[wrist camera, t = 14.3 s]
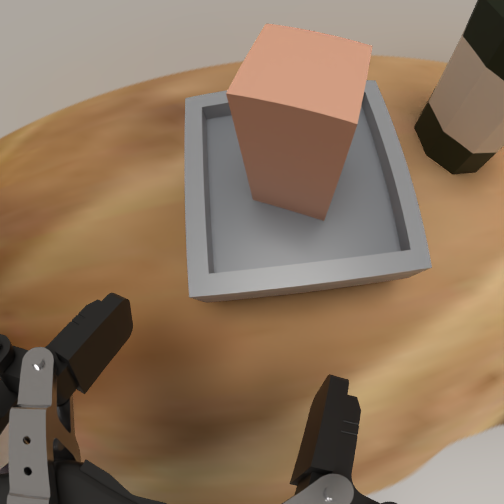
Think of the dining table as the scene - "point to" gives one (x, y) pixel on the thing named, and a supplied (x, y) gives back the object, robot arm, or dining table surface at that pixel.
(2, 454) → the cup
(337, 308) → the dining table surface
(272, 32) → the terracotta block
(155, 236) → the dining table surface
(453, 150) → the wine bottle
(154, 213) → the dining table surface
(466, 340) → the dining table surface
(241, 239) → the grey square tray
